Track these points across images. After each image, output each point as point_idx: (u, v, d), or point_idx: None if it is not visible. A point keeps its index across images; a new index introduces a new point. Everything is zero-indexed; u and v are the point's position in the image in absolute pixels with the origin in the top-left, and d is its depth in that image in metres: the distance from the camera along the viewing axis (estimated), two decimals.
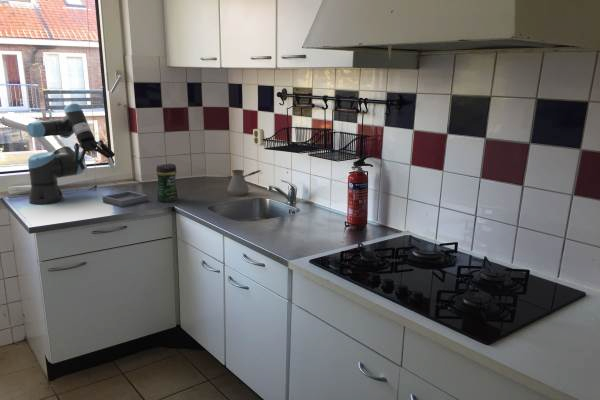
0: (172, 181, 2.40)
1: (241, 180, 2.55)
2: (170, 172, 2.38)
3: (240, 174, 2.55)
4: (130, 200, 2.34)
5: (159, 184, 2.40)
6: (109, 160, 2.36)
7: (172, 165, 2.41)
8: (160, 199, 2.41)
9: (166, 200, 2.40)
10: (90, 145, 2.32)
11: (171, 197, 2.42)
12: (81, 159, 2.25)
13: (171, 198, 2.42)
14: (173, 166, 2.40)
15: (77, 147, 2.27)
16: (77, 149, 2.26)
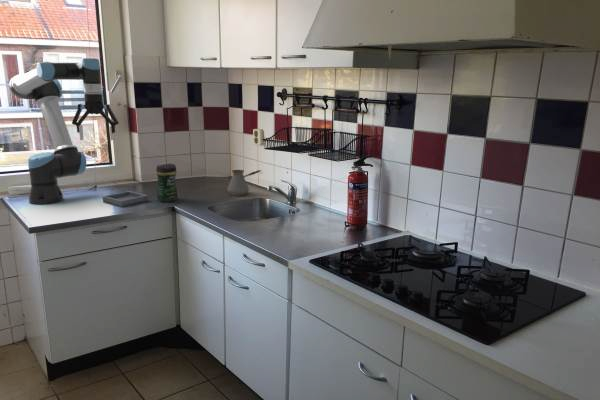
0: (172, 181, 2.40)
1: (241, 180, 2.55)
2: (170, 172, 2.38)
3: (240, 174, 2.55)
4: (130, 200, 2.34)
5: (159, 184, 2.40)
6: None
7: (172, 165, 2.41)
8: (160, 199, 2.41)
9: (166, 200, 2.40)
10: (93, 109, 2.21)
11: (171, 197, 2.42)
12: (78, 123, 2.21)
13: (171, 198, 2.42)
14: (173, 166, 2.40)
15: (78, 109, 2.20)
16: (77, 111, 2.20)
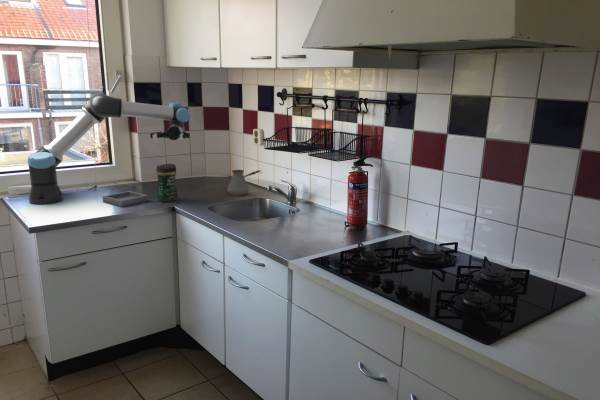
0: (172, 181, 2.40)
1: (241, 180, 2.55)
2: (170, 172, 2.38)
3: (240, 174, 2.55)
4: (130, 200, 2.34)
5: (159, 184, 2.40)
6: (156, 137, 2.50)
7: (172, 165, 2.41)
8: (160, 199, 2.41)
9: (166, 200, 2.40)
10: None
11: (171, 197, 2.42)
12: None
13: (171, 198, 2.42)
14: (173, 166, 2.40)
15: None
16: None
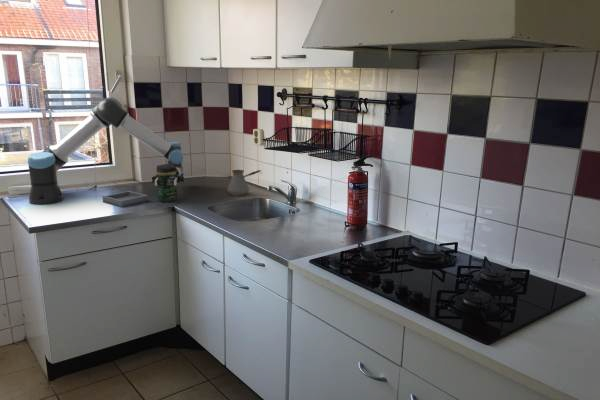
0: (172, 181, 2.40)
1: (241, 180, 2.55)
2: (170, 172, 2.38)
3: (240, 174, 2.55)
4: (130, 200, 2.34)
5: (159, 184, 2.40)
6: None
7: (172, 165, 2.41)
8: (160, 199, 2.41)
9: (166, 200, 2.40)
10: None
11: (171, 197, 2.42)
12: None
13: (171, 198, 2.42)
14: (173, 166, 2.40)
15: None
16: None
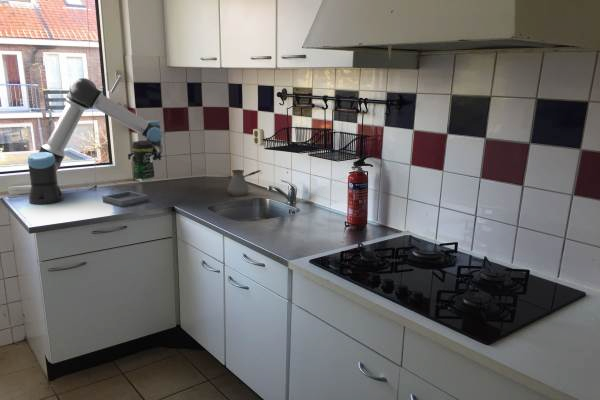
0: (148, 158, 2.36)
1: (241, 180, 2.55)
2: (146, 148, 2.33)
3: (240, 174, 2.55)
4: (130, 200, 2.34)
5: (135, 161, 2.35)
6: None
7: (149, 142, 2.36)
8: (136, 176, 2.36)
9: (142, 177, 2.35)
10: None
11: (147, 175, 2.37)
12: None
13: (147, 176, 2.37)
14: (150, 143, 2.36)
15: None
16: None
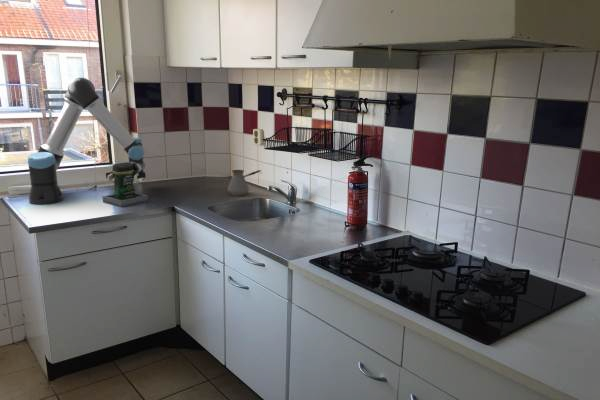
0: (129, 180, 2.36)
1: (241, 180, 2.55)
2: (126, 171, 2.34)
3: (240, 174, 2.55)
4: (130, 200, 2.34)
5: (115, 183, 2.35)
6: (112, 177, 2.39)
7: (129, 164, 2.36)
8: (116, 198, 2.36)
9: (123, 199, 2.36)
10: None
11: (127, 197, 2.37)
12: None
13: (128, 198, 2.37)
14: (130, 165, 2.36)
15: None
16: None
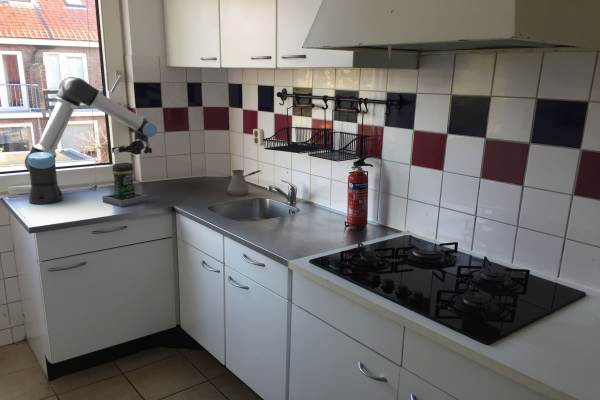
0: (129, 180, 2.36)
1: (241, 180, 2.55)
2: (126, 171, 2.34)
3: (240, 174, 2.55)
4: (130, 200, 2.34)
5: (115, 183, 2.36)
6: (118, 151, 2.49)
7: (129, 164, 2.37)
8: (116, 198, 2.36)
9: (122, 199, 2.36)
10: (134, 150, 2.59)
11: (127, 197, 2.37)
12: None
13: (128, 198, 2.37)
14: (130, 165, 2.36)
15: None
16: None
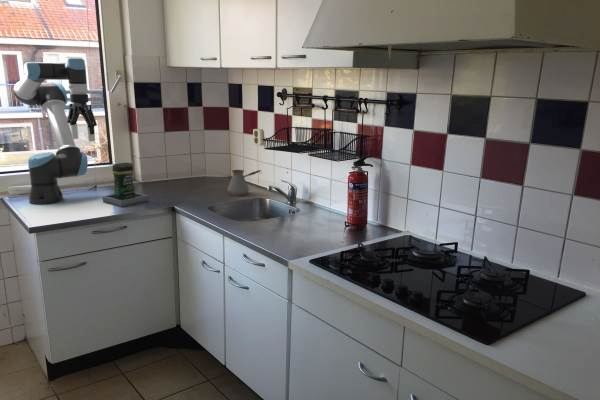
0: (129, 180, 2.36)
1: (241, 180, 2.55)
2: (126, 171, 2.34)
3: (240, 174, 2.55)
4: (130, 200, 2.34)
5: (115, 183, 2.36)
6: None
7: (129, 164, 2.37)
8: (116, 198, 2.36)
9: (122, 199, 2.36)
10: None
11: (127, 197, 2.37)
12: (70, 122, 2.26)
13: (128, 198, 2.37)
14: (130, 165, 2.36)
15: (70, 109, 2.24)
16: (69, 110, 2.25)
